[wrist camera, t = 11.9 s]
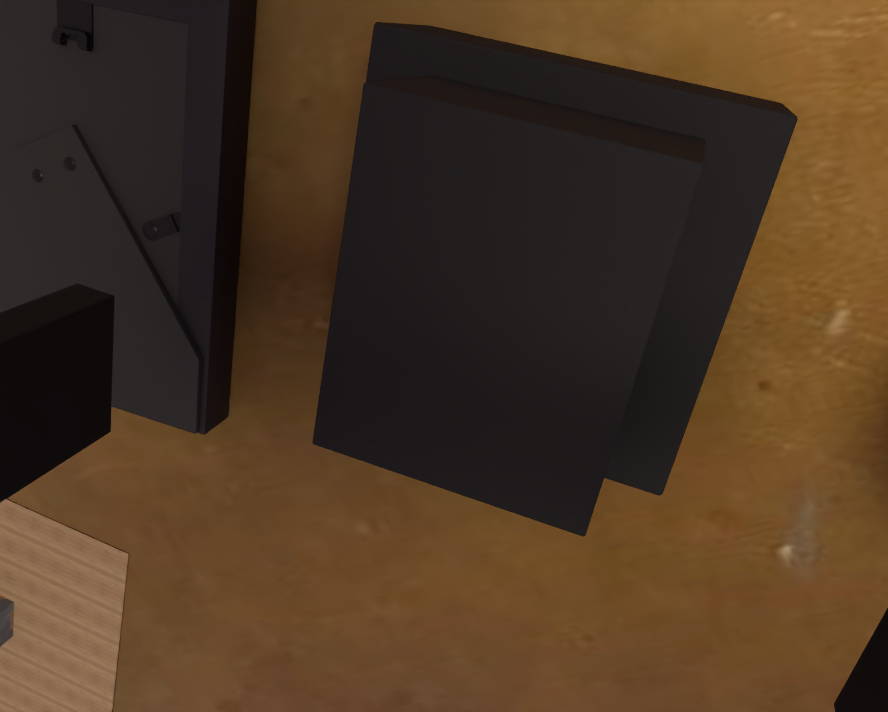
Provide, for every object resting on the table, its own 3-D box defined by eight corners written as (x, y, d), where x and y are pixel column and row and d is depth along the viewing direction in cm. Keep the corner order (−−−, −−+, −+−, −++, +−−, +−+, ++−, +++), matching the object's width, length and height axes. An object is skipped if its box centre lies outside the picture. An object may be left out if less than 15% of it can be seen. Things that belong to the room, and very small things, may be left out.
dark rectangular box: (427, 24, 28) (373, 21, 23) (784, 103, 25) (798, 116, 21) (374, 339, 33) (321, 386, 28) (669, 430, 30) (661, 497, 26)
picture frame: (228, 416, 36) (258, -14, 29) (200, 438, 34) (225, -18, 27) (-16, 338, 39) (-44, -72, 32) (-56, 354, 37) (-94, -80, 30)
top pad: (429, 74, 23) (363, 81, 19) (706, 139, 22) (704, 163, 17) (376, 379, 27) (311, 444, 23) (606, 453, 26) (584, 538, 21)
